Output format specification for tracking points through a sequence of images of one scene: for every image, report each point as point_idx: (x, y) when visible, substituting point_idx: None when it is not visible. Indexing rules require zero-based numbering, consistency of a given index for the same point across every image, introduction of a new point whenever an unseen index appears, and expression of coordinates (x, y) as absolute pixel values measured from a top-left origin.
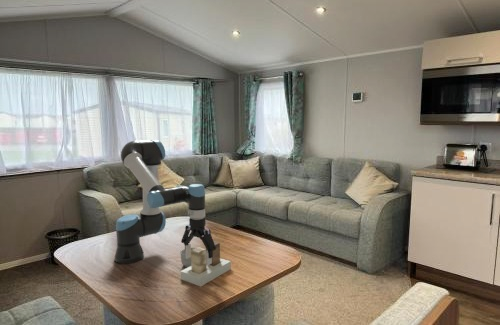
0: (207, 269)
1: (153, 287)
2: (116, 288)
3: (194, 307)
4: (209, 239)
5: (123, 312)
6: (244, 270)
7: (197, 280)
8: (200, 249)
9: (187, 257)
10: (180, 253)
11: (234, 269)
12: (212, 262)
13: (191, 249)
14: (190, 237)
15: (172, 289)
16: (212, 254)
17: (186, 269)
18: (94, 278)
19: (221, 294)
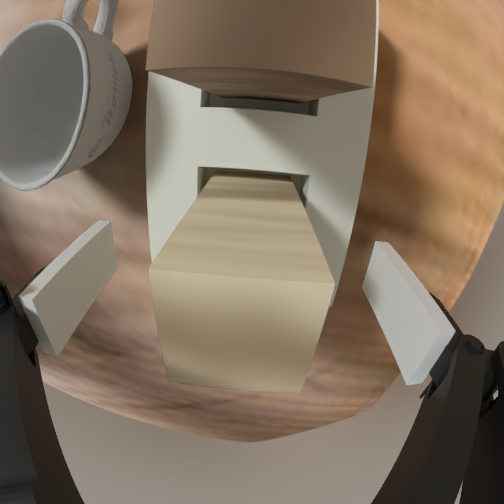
0: (292, 172)
1: (143, 354)
2: (77, 379)
3: (371, 377)
4: (494, 497)
5: (206, 435)
6: (434, 17)
7: None
8: (260, 330)
9: (113, 265)
10: (2, 177)
11: (381, 14)
12: (296, 99)
13: (6, 62)
14: (76, 491)
15: None
16: (448, 314)
17: None
18: None
19: (435, 285)
